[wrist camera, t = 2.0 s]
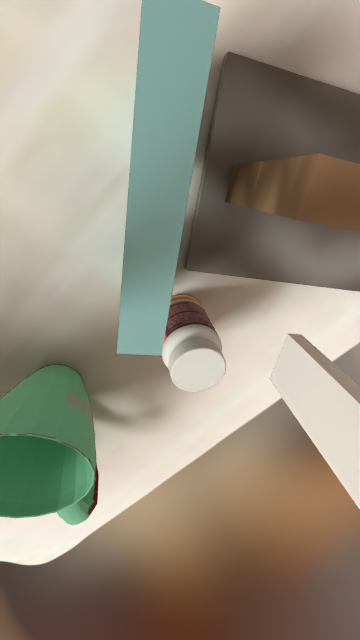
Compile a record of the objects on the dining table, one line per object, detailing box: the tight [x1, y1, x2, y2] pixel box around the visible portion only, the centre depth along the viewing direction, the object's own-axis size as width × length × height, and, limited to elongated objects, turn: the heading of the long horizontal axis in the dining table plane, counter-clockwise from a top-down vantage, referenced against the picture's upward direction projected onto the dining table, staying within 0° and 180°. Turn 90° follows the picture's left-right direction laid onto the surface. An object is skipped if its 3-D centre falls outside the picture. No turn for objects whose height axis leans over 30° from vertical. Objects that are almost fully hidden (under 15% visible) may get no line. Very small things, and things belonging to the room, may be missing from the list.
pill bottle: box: [162, 295, 226, 392], centre depth 21 cm, size 5×5×8 cm
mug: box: [0, 365, 99, 525], centre depth 24 cm, size 15×10×10 cm
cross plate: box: [117, 0, 220, 356], centre depth 16 cm, size 14×2×10 cm, turn 170°
